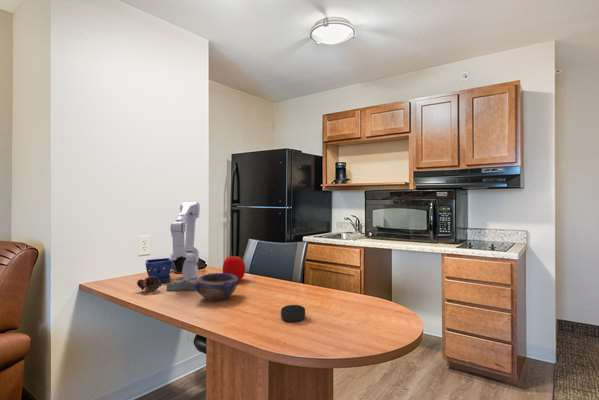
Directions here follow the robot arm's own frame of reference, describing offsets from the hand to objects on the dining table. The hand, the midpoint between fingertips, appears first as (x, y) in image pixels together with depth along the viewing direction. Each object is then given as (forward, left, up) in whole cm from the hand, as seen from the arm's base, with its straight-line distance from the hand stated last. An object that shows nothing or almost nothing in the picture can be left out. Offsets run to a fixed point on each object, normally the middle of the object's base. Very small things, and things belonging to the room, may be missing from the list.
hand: (179, 272), depth 173 cm
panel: (0, +7, -8) cm, 11 cm away
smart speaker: (+45, +61, -9) cm, 76 cm away
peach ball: (0, 0, -7) cm, 7 cm away
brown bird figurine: (+5, -14, -9) cm, 17 cm away
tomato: (-15, +24, -8) cm, 30 cm away
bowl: (+18, +25, -9) cm, 32 cm away
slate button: (0, +7, -7) cm, 10 cm away
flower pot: (-17, -19, -9) cm, 27 cm away
